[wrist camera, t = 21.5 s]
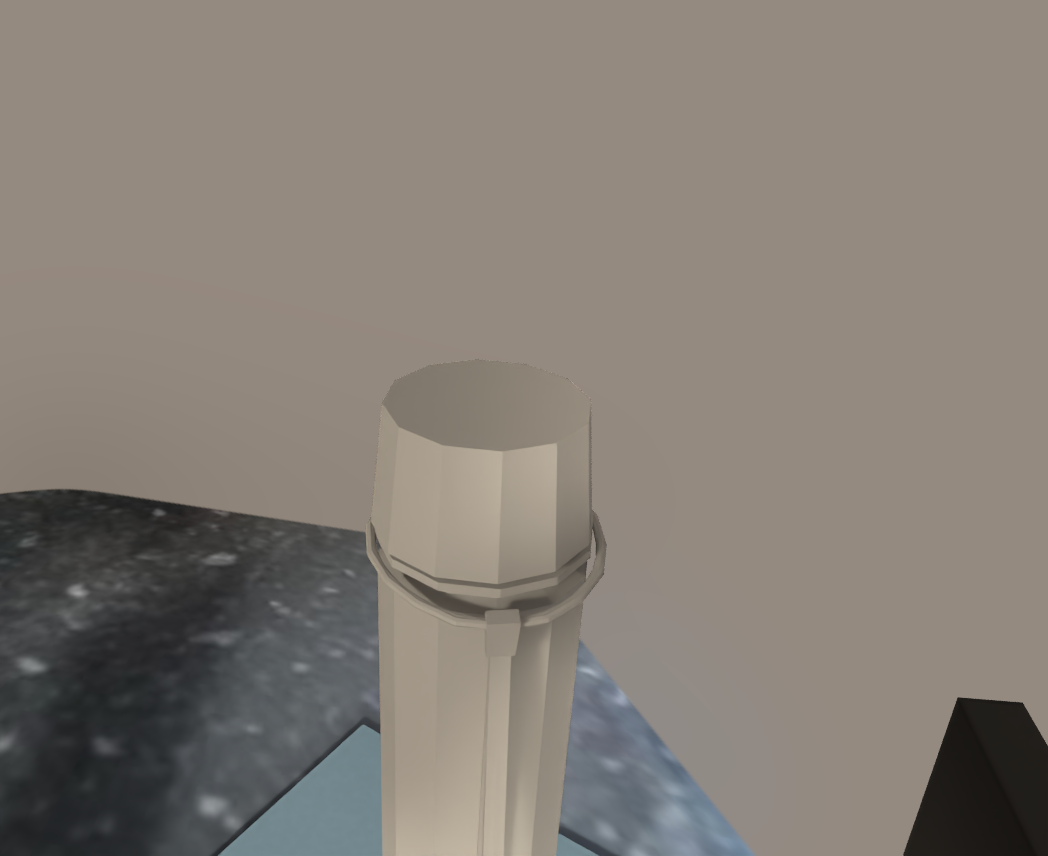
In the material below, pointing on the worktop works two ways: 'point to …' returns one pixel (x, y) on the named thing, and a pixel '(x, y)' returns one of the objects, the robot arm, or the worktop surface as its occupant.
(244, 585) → the worktop surface
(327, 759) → the blue mat
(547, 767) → the water bottle
